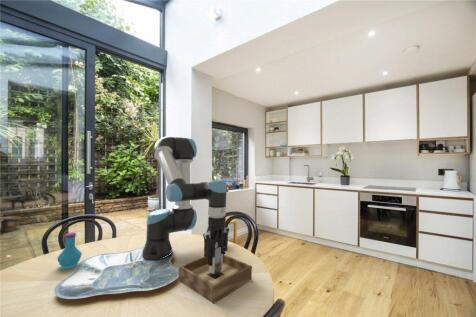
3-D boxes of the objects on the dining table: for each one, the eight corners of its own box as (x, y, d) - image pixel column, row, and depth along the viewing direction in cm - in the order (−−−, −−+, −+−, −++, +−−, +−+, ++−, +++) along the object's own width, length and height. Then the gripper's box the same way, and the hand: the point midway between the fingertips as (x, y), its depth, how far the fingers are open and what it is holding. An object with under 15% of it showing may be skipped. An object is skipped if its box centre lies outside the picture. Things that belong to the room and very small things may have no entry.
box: (178, 280, 93) (179, 266, 93) (216, 263, 110) (217, 251, 110) (213, 303, 79) (214, 286, 79) (251, 279, 95) (251, 265, 95)
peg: (208, 279, 94) (209, 246, 94) (215, 276, 97) (216, 244, 97) (215, 283, 91) (216, 249, 91) (222, 279, 94) (223, 246, 94)
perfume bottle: (83, 265, 104) (84, 233, 105) (58, 272, 98) (60, 238, 98) (78, 259, 111) (80, 229, 111) (55, 265, 104) (56, 233, 104)
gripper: (207, 221, 86) (206, 281, 85) (236, 214, 98) (235, 266, 98) (195, 217, 91) (194, 274, 90) (224, 211, 103) (223, 261, 103)
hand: (215, 270), depth 94 cm, fingers closed on peg, 4 cm apart
